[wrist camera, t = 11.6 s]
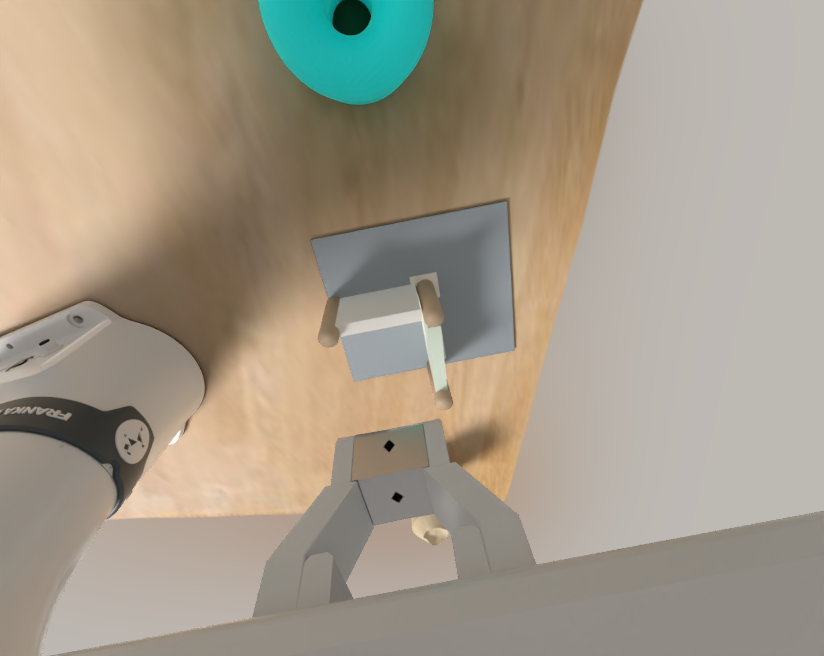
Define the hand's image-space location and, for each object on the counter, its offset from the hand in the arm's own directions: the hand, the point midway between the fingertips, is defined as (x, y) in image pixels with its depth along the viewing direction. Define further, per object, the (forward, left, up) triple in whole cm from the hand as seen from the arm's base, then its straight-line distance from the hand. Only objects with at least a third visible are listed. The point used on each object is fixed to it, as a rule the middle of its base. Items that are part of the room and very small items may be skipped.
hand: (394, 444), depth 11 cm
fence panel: (+3, -14, -29) cm, 32 cm away
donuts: (+1, +14, -29) cm, 33 cm away
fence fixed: (-2, -8, -29) cm, 30 cm away
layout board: (+2, -9, -29) cm, 31 cm away
